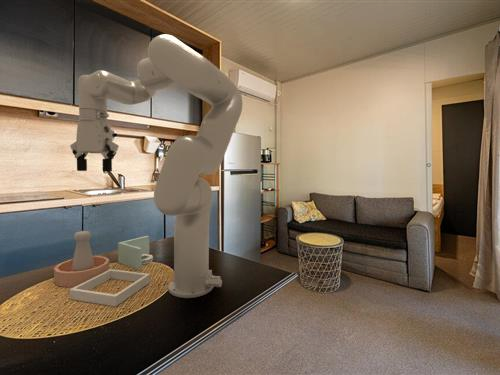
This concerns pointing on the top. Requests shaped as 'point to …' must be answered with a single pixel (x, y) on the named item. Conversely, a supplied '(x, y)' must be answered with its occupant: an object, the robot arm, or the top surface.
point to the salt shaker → (82, 252)
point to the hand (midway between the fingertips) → (94, 171)
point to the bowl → (79, 272)
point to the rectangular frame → (85, 295)
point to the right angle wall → (134, 252)
